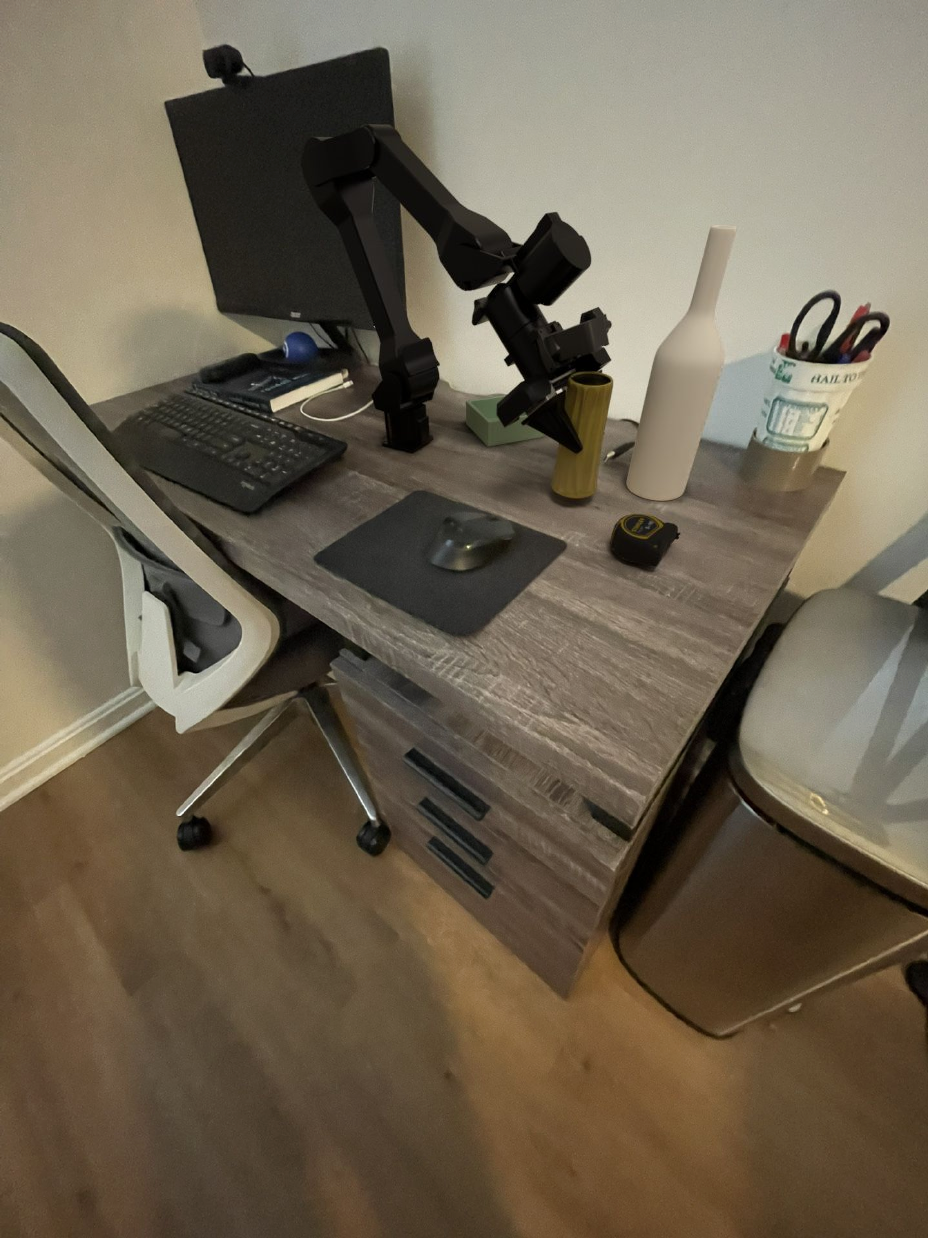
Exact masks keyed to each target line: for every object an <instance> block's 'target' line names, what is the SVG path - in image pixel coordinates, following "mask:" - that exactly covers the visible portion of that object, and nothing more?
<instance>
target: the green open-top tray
mask: <svg viewBox="0 0 928 1238" xmlns="http://www.w3.org/2000/svg"><path fill="white" fill-rule="evenodd" d="M506 395H507V394H504V395H498V396H490V397H484V398H477V399H470V400H466V401H465V425H467V426H468V428H469V429H470V430H471V431H472V432H473V433H474V434H475V435H476V436H477V437H478V438H479V439H480V440H481V441H482V442H483V443H484V444H485V445H486V446H487V447H494V446H500V445H505V444H512V443H518V442H523V441H528V440H535V439H540V438H544V436H545V434H543V433H541V432H539V431H537V430H535V429H533V428H532V427H530V426H528V425H524V426H523V425H522V424H521V422H522V421H523V420H524V419H526V418H527V417H528V416H527V415H526V413H525V412H524V413H523V414H522V415H520V419H519V420H518V421H517V422H515V423H513V424H511V425H510V426H508V427H506V428H504V427H503V425H502V423H501V422H500V420H499V419H498V417H497V415H496V410H497V403H498V402H500V401H501V400H502V399H503V398H504V397H505V396H506Z"/></svg>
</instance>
